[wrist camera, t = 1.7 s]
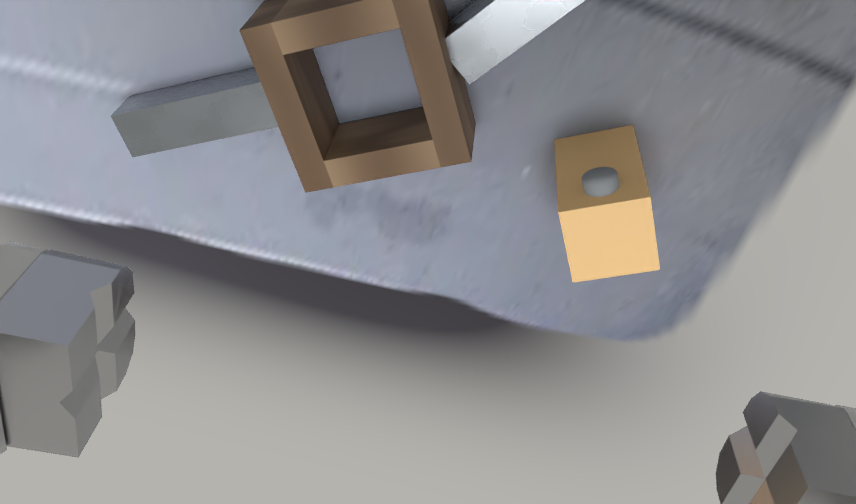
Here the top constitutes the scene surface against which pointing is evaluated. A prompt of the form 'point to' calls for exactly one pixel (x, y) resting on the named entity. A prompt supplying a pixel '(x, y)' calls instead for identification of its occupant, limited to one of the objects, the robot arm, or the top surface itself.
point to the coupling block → (605, 205)
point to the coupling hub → (373, 137)
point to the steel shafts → (248, 105)
